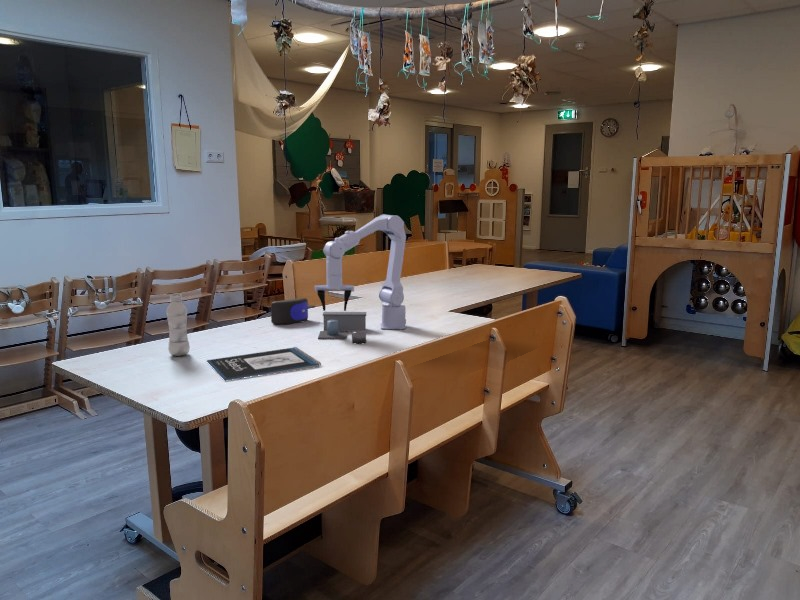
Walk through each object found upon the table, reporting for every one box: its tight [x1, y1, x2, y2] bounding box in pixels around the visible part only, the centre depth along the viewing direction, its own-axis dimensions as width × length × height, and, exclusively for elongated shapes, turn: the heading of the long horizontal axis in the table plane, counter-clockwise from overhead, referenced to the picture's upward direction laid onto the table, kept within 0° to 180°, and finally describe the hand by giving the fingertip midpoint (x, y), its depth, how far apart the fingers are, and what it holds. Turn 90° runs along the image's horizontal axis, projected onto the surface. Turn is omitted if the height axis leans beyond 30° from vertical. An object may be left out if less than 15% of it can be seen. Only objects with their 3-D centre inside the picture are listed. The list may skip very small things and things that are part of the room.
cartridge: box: [327, 320, 338, 336], centre depth 224 cm, size 4×4×5 cm
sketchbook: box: [206, 346, 322, 382], centre depth 189 cm, size 22×30×2 cm
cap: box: [351, 330, 367, 345], centre depth 216 cm, size 5×5×4 cm
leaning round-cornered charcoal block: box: [270, 297, 309, 326], centre depth 244 cm, size 16×5×9 cm, turn 127°
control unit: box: [322, 311, 367, 332], centre depth 234 cm, size 17×5×7 cm, turn 92°
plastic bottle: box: [165, 293, 190, 357], centre depth 196 cm, size 6×7×20 cm
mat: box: [317, 330, 348, 340], centre depth 225 cm, size 10×10×1 cm
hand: (334, 310), depth 225 cm, fingers open, 7 cm apart
